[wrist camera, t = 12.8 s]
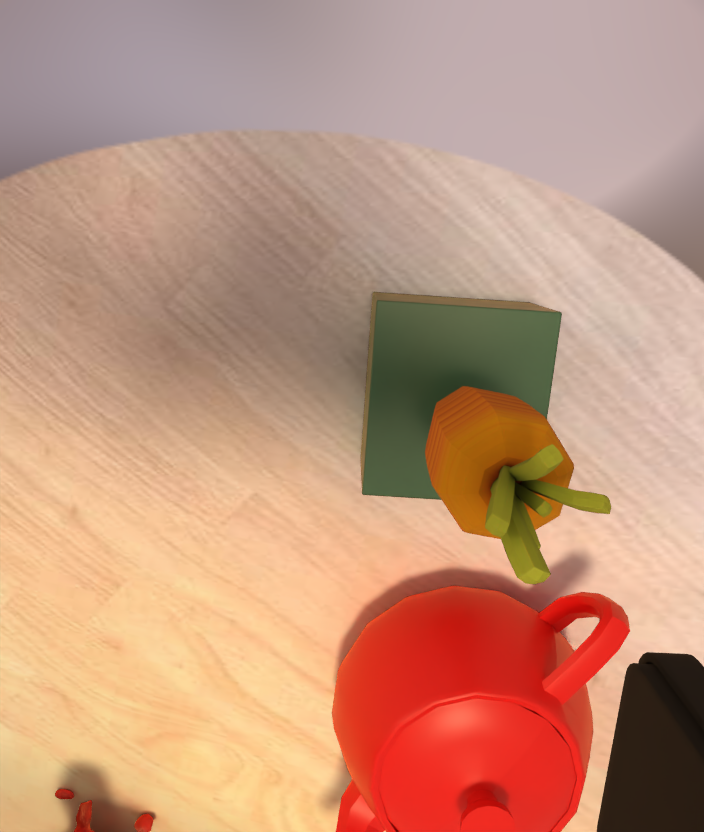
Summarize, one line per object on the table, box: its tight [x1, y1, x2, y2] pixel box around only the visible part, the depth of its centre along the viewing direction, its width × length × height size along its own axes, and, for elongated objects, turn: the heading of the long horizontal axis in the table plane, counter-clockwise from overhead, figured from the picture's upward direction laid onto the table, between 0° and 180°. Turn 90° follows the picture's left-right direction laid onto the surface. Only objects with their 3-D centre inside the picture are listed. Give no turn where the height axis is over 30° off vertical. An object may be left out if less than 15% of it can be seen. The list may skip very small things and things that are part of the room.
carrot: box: [425, 386, 611, 584], centre depth 26 cm, size 5×5×15 cm
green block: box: [361, 292, 562, 500], centre depth 36 cm, size 10×9×6 cm
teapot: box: [332, 586, 630, 832], centre depth 38 cm, size 25×16×12 cm, turn 139°
